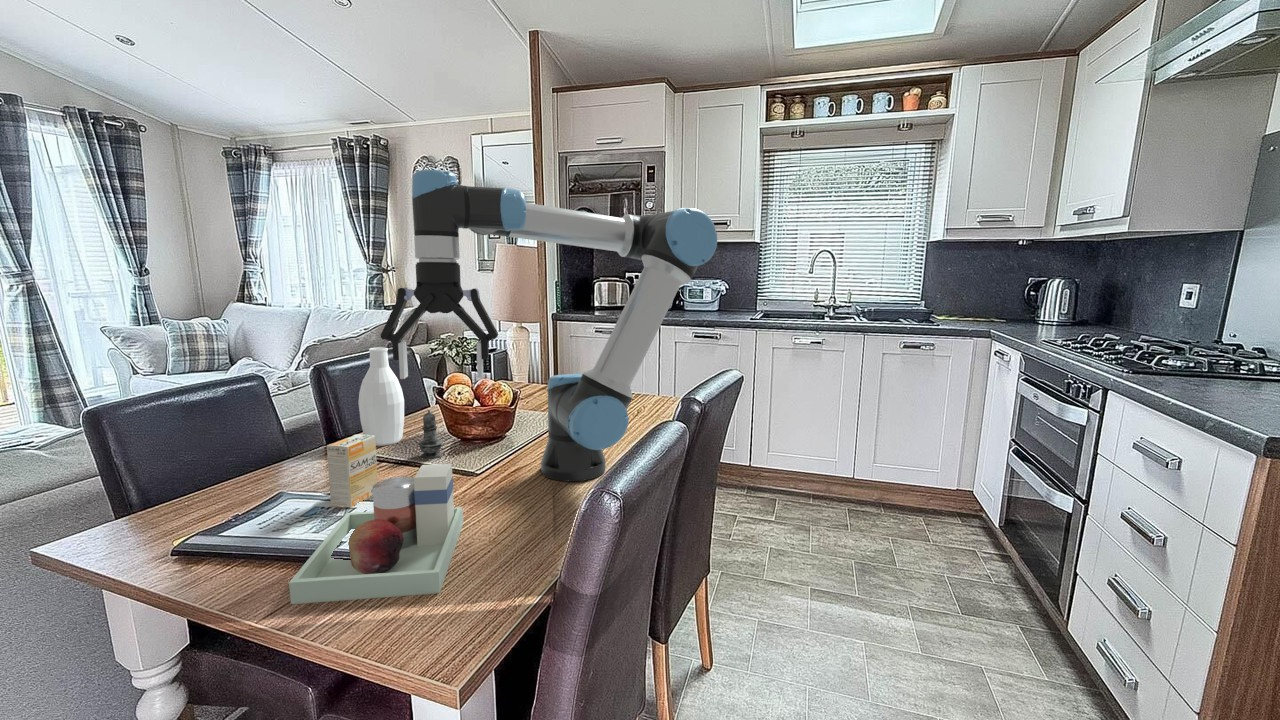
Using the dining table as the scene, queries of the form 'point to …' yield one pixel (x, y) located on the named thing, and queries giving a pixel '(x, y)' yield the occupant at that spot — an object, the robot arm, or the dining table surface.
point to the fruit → (375, 546)
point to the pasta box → (433, 503)
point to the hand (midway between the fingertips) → (442, 377)
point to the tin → (397, 506)
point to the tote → (341, 581)
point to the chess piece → (430, 438)
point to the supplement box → (352, 469)
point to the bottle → (381, 400)
